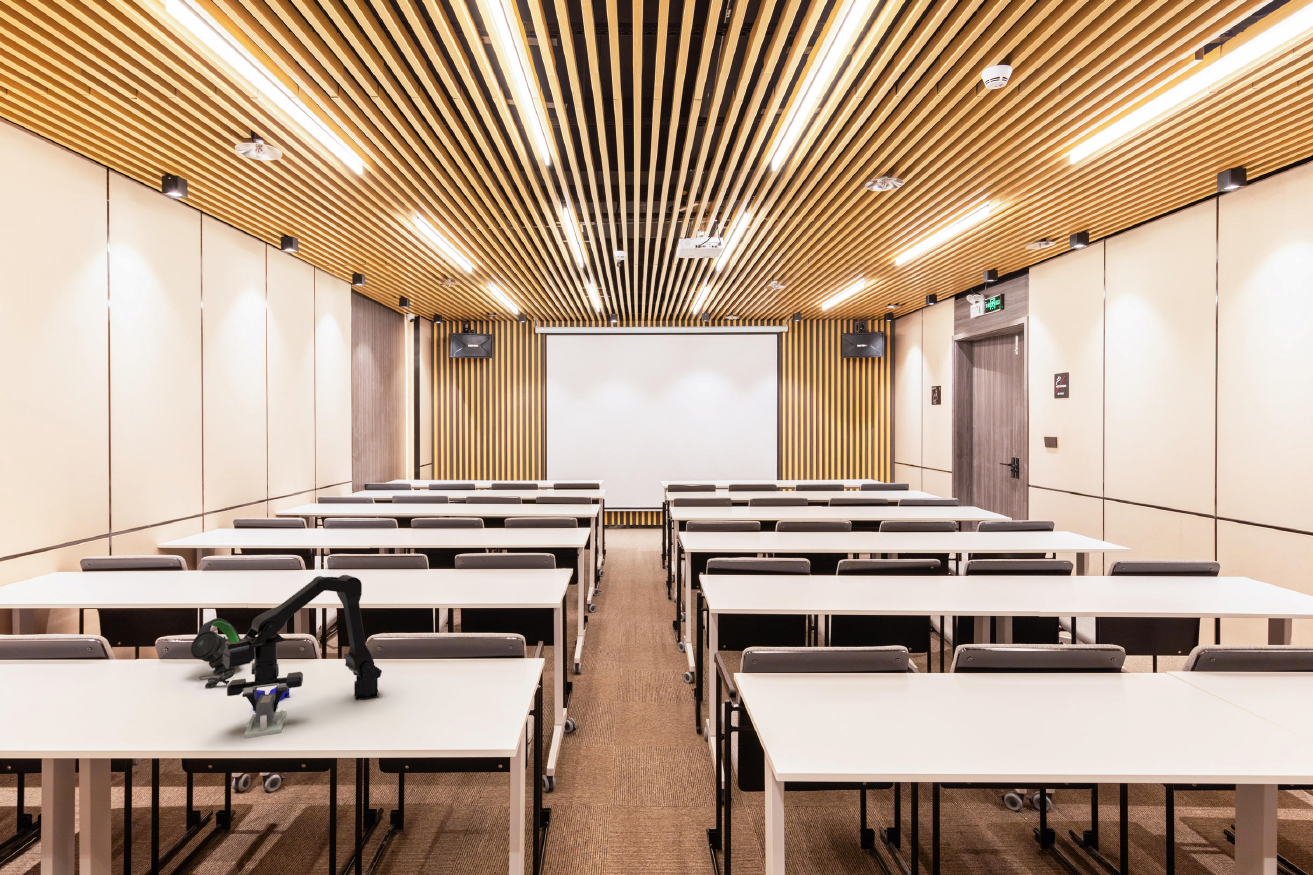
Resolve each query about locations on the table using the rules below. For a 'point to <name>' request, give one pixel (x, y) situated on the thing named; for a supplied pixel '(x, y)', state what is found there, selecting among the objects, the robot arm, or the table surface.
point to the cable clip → (262, 692)
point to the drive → (265, 707)
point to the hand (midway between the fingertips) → (266, 712)
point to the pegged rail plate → (265, 725)
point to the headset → (214, 649)
